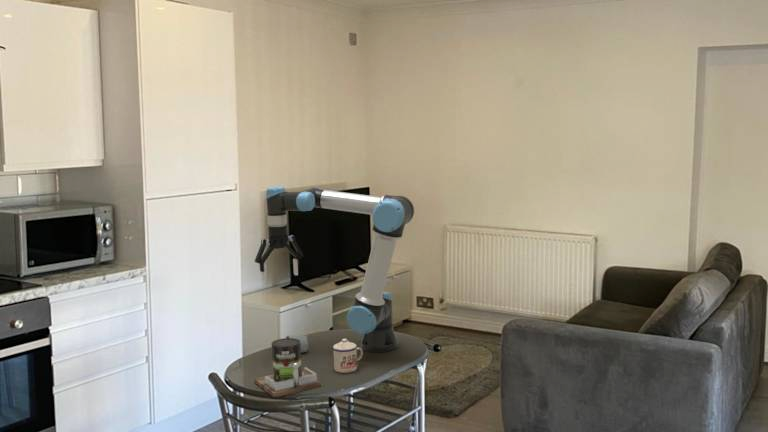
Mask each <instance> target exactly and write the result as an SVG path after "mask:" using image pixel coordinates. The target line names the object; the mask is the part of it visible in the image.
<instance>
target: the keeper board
mask: <svg viewBox="0 0 768 432" xmlns="http://www.w3.org/2000/svg"><path fill="white" fill-rule="evenodd" d="M265 376H266V375H264V376H261V377H256V378H254V384H255V385H257V384H258V385H259V386H258V385H257V386H258V387H260V388H261V389H262V388H263V389H264V390H263V389H262V390H263V391H264V392H266V393H267V394H269V395H270V396H271V397H273V398H277V397H281V396H285V395H286V396H287V395H291V394H294V393H299V392H303V391H307V390H311V389H316V388H320V387H322V382H321V381H319V379H317V382H316V383H311V384H307V385H303V386H299V387H298V388H290V389H285V390H281V391H277V392H275V391H273V390H272V389H271V388H269V387H268V386H267V385H265ZM268 376H269V377H270V378H271V379H273V380H274V374H269V375H268ZM302 376H304V369H302Z"/></svg>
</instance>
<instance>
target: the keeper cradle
mask: <svg viewBox="0 0 768 432" xmlns="http://www.w3.org/2000/svg"><path fill="white" fill-rule="evenodd" d="M292 368H293V378H292V379H288V380H283V381H279V382H275V381H274V380H273V379H271V378H270V377H269V375H264V376H265V385H267V386H268V387H269V388H271V389H272V390H273V391H275V392H277V391H281V390H285V389H290V388H298V387H299V386H303V385H307V384H311V383H316V382H317V380H318V374H317V373H316V372H315V371H313V370H312V369H309V368H308V367H306V366H305V367H303V371H304V376H301V377H299V376H298V368H299V365H298V363H293V364H292Z"/></svg>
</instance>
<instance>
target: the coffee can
mask: <svg viewBox="0 0 768 432" xmlns="http://www.w3.org/2000/svg"><path fill="white" fill-rule="evenodd" d="M300 344H301V341H300V340H298V339H294V338H286V337H285V338H279V339H276V340H272V341H271V350H272V351H271V352H272V369H273V374H272V375H274V381H275V382H279V381H283V380H288V379H292V378H293V368H292V364H293V363H298V365H299V368H298V376H299V377H301V376H302V370H303V369H302V353H301V348H300Z"/></svg>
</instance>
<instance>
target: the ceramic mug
mask: <svg viewBox="0 0 768 432" xmlns="http://www.w3.org/2000/svg"><path fill="white" fill-rule="evenodd" d="M285 338H294V339H298V340H300V341H301V344H300V348H301V354H303V353H306V352H308V351H309V349H310V341H309V340H310V339H309V337H308V335H306V334H293V335H291V334H290V335H287V336H285Z"/></svg>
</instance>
